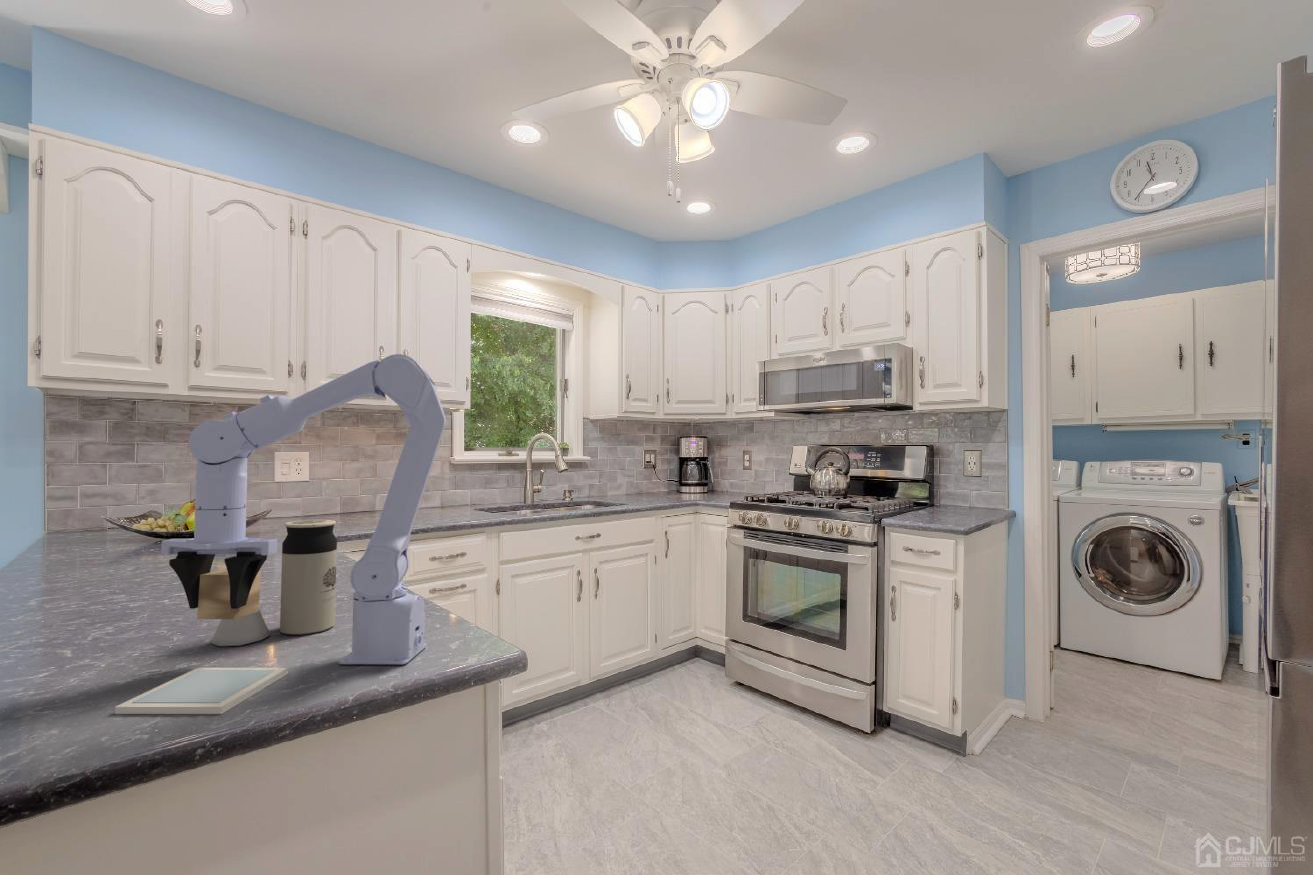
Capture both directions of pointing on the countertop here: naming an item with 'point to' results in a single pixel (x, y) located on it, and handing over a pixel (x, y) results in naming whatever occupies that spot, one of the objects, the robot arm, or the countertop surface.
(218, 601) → the oak block
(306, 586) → the travel mug
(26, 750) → the countertop surface
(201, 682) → the picture frame
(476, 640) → the countertop surface
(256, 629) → the flask
